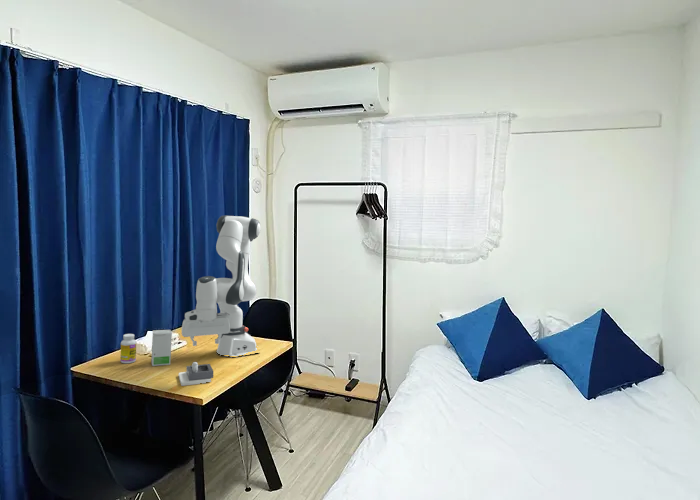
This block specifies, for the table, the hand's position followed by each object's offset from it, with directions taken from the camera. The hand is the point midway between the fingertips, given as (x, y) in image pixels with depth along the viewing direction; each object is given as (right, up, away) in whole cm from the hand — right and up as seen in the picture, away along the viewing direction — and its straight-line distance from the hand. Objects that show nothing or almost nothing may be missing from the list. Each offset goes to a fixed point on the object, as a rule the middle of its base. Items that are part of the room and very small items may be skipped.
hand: (206, 344), depth 193 cm
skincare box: (-27, -13, +16) cm, 33 cm away
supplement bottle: (-42, -12, +16) cm, 46 cm away
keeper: (-5, -15, -1) cm, 16 cm away
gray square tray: (-3, -14, 0) cm, 14 cm away
